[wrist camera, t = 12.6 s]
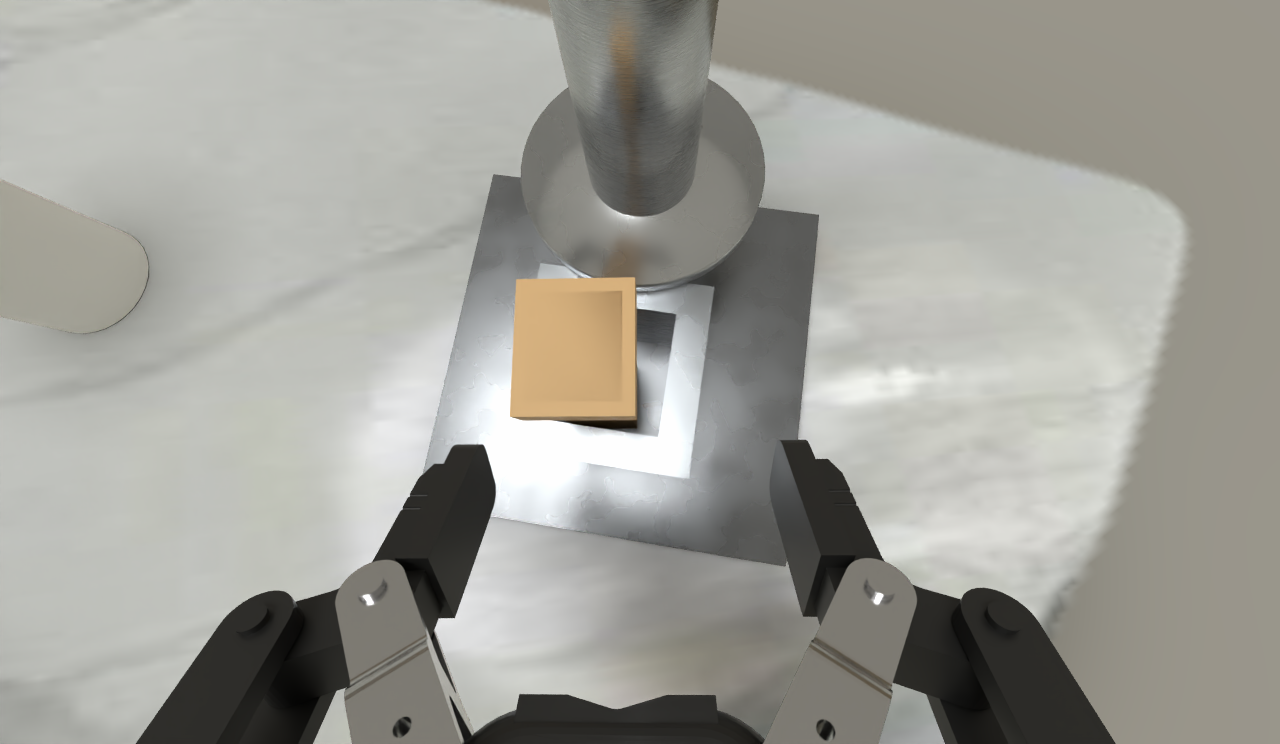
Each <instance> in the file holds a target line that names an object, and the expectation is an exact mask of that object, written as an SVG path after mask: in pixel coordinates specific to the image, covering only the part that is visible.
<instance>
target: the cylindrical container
mask: <svg viewBox="0 0 1280 744" xmlns="http://www.w3.org/2000/svg"><path fill="white" fill-rule="evenodd" d="M148 270H149V266H148V259H147V256H146V253H145V251H144V249H143V247H142V246H141V244H140V243H139V242H138V241H137V240H136V239H135V238H134V237H132V236H130V235H129V234H127V233H125V232H123V231H120V230H118V229H116V228H113V227H111V226H109V225H106V224H104V223H102V222H99V221H97V220H95V219H92V218H90V217H88V216H85V215H83V214H81V213H78V212H76V211H74V210H71V209H69V208H67V207H64V206H62V205H60V204H57V203H55V202H53V201H50V200H48V199H46V198H43V197H41V196H39V195H36V194H34V193H32V192H29V191H27V190H25V189H22V188H20V187H18V186H15V185H13V184H11V183H8V182H6V181H4V180H1V179H0V317H3V318H8V319H12V320H17V321H21V322H26V323H30V324H35V325H39V326H44V327H49V328H53V329H58V330H62V331H67V332H71V333H83V334H84V333H91V332H96V331H99V330H103V329H106V328H108V327H109V326H111V325H113V324H115V323H117V322H118V321H119V320H121V319H122V318H124V317H125V316H126V315H127V314H128V313H129V312H130V311H131V310H132V309H133V308H134V306H135V305H136V304H137V302H138V301H139V299H140V298H141V296H142V294H143V291H144V289H145V287H146V283H147V279H148Z"/></svg>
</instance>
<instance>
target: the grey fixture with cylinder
mask: <svg viewBox="0 0 1280 744" xmlns="http://www.w3.org/2000/svg"><path fill="white" fill-rule="evenodd" d="M548 1H549V6H550V10H551V14H552V18H553V23H554V27H555V31H556V36H557V40H558V44H559V49H560V53H561V57H562V61H563V66H564V70H565V74H566V79H567V83H568V88H567V89H565V90H564V91H563V92H561V93H560V94H559V95H558V96H557V97H556V98H555V99H554V100H553V101H552V102H551V103H550V104H549V105H548V106H547V107H546V109H545V110H544V111H543V112H542V113H541V115H540V116H539V118H538V120H537V121H536V123H535V124H534V126H533V128H532V130H531V132H530V135H529V137H528V139H527V142H526V145H525V149H524V152H523V158H522V164H521V178H519V177H511V176H503V175H495V174H494V175H493V179H492V183H491V187H490V192H489V196H488V200H487V204H486V208H485V213H484V217H483V221H482V225H481V230H480V234H479V238H478V242H477V247H476V251H475V255H474V259H473V264H472V268H471V272H470V276H469V281H468V285H467V289H466V293H465V298H464V302H463V306H462V310H461V315H460V319H459V323H458V327H457V332H456V336H455V340H454V344H453V348H452V353H451V357H450V361H449V365H448V370H447V374H446V378H445V382H444V387H443V391H442V395H441V399H440V404H439V408H438V412H437V416H436V421H435V425H434V429H433V433H432V438H431V442H430V446H429V450H428V455H427V459H426V463H425V467H424V471H423V474H424V473H425V472H426V471H427V470H428V469H429V468H430V467H431V466H432V465H433V464H443V463H444V462H445V460H446V458H447V456H448V454H449V452H450V450H451V448H452V447H453V446H454V445H457V444H483V445H484V446H485V448H486V451H487V455H488V458H489V462H490V465H491V469H492V473H493V476H494V480H495V484H496V499H495V504H494V507H493V510H492V513H491V516H493V517H499V518H505V519H510V520H516V521H522V522H528V523H534V524H540V525H546V526H551V527H557V528H563V529H569V530H575V531H581V532H587V533H593V534H598V535H604V536H610V537H616V538H622V539H628V540H634V541H639V542H645V543H651V544H657V545H663V546H669V547H675V548H681V549H686V550H692V551H698V552H704V553H710V554H716V555H722V556H727V557H733V558H739V559H745V560H751V561H757V562H763V563H769V564H774V565H780V566H786V554H785V550H784V547H783V543H782V539H781V536H780V532H779V529H778V525H777V521H776V518H775V514H774V510H773V507H772V503H771V498H770V476H771V470H772V464H773V458H774V453H775V447H776V443H777V441H778V440H798V430H799V420H800V409H801V399H802V388H803V378H804V367H805V357H806V346H807V336H808V325H809V315H810V304H811V294H812V283H813V273H814V262H815V251H816V241H817V230H818V220H819V215H815V214H807V213H799V212H791V211H783V210H775V209H767V208H759V207H758V206H759V203H760V200H761V197H762V192H763V187H764V181H765V162H764V153H763V149H762V145H761V141H760V138H759V136H758V133H757V131H756V128H755V126H754V124H753V123H752V121H751V119H750V117H749V116H748V114H747V113H746V111H745V110H744V109H743V108H742V106H741V105H740V104H739V102H738V101H736V100H735V99H734V98H733V97H732V96H731V95H730V94H729V93H728V92H727V91H726V90H724V89H723V88H722V87H720V86H719V85H718V84H716V83H715V82H713V81H711V80H709V79H708V75H709V67H710V60H711V53H712V45H713V37H714V31H715V23H716V15H717V9H718V2H719V0H548ZM623 277H635V282H636V291H637V429H602V428H596V427H589V426H583V425H576V424H571V423H569V422H567V421H522V420H518V419H515V418H512V417H510V397H511V376H512V356H513V335H514V315H515V294H516V279H559V278H623Z"/></svg>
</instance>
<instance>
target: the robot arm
mask: <svg viewBox="0 0 1280 744" xmlns="http://www.w3.org/2000/svg"><path fill="white" fill-rule="evenodd" d="M770 498H771V503H772V507H773V510H774V514H775V518H776V521H777V525H778V529H779V532H780V536H781V539H782V543H783V547H784V550H785V554H786V557H787V561H788V565H789V568H790V572H791V575H792V579H793V583H794V586H795V590H796V593H797V597H798V601H799V604H800V608H801V611H802V615H803V617H818V621H819V624H820V628H819V630H818V632H817V634H816V636H815V638H814V640H812V641H811V643H810V645H809V647H808V649H807V651H806V653H805V655H804V657H803V659H802V662H801V664H800V666H799V668H798V670H797V672H796V674H795V677H794V679H793V681H792V683H791V685H790V687H789V689H788V692H787V694H786V696H785V698H784V700H783V702H782V704H781V706H780V709H779V711H778V713H777V715H776V717H775V719H774V721H773V724H772V726H771V728H770V730H769V732H768V734H767V736H766V739H764V738H763V737H762V736H761V735H760V734H758V733H757V732H756V731H755V730H753V729H752V728H751V727H750V726H748V725H747V724H745V723H744V722H742V721H740V720H739V719H737V718H735V717H733V716H731V715H729V714H727V713H724V712H721V711H717V704H716V695H666V696H662V697H659V698H656V699H652V700H649V701H645V702H642V703H639V704H635V705H632V706H629V707H625V708H622V709H611V708H608V707H604V706H601V705H598V704H595V703H592V702H589V701H586V700H583V699H579V698H576V697H573V696H570V695H548V694H519V699H518V704H517V709H516V710H515V711H512V712H509V713H507V714H504V715H502V716H500V717H498V718H496V719H494V720H493V721H491V722H489V723H488V724H486V725H485V726H483V727H482V728H481V729H479V730H478V731H477V732H474V730H473V727H472V725H471V723H470V720H469V718H468V716H467V713H466V711H465V709H464V706H463V704H462V701H461V699H460V696H459V694H458V691H457V688H456V685H455V683H454V680H453V677H452V674H451V672H450V669H449V666H448V664H447V661H446V658H445V655H444V653H443V650H442V647H441V644H440V642H439V639H438V636H437V634H436V632H435V630H434V629H435V626H436V624H437V621H438V618H455V616H456V613H457V610H458V607H459V605H460V602H461V599H462V596H463V593H464V590H465V587H466V585H467V582H468V579H469V576H470V573H471V570H472V567H473V565H474V562H475V559H476V556H477V553H478V550H479V547H480V544H481V542H482V539H483V536H484V533H485V530H486V527H487V524H488V522H489V519H490V516H491V513H492V510H493V507H494V504H495V499H496V484H495V480H494V476H493V473H492V469H491V465H490V462H489V458H488V455H487V451H486V448H485V446H484V445H483V444H457V445H454V446H453V447H452V448H451V450H450V452H449V454H448V456H447V458H446V460H445V462H444V463H443V464H433V465H432V466H431V467H430V468H429V469H428V470H427V471H426V472H425V473H424V474H423V475H422V476H420V477H419V479H418V480H417V482H416V484H415V486H414V488H413V490H412V491H411V493H410V497H408V499H407V500H406V502H405V504H404V506H403V510H401V511H400V513H399V515H398V517H397V518H396V520H395V522H394V524H393V526H392V527H391V529H390V531H389V533H388V535H387V536H386V538H385V540H384V542H383V544H382V545H381V547H380V549H379V551H378V553H377V554H376V556H375V558H374V560H373V561H372V563H369V564H367V565H365V566H363V567H361V568H359V569H358V570H357V571H355V572H354V573H353V574H351V575H350V576H349V577H348V578H347V579H346V580H345V581H344V583H343V584H342V586H341V587H340V588H339V589H337V590H334V591H331V592H328V593H324V594H321V595H317V596H314V597H311V598H307V599H304V600H300V601H297V602H295V601H294V600H293V598H292V597H291V596H290V595H289V594H288V593H286V592H283V591H268V592H265V593H261V594H259V595H256V596H254V597H252V598H250V599H248V600H246V601H245V602H243V603H242V604H240V605H239V606H238V607H236V608H235V609H234V610H233V611H231V612H230V613H229V614H228V615H227V616H226V617H225V618H224V620H223V621H222V622H221V624H220V625H219V626H218V628H217V629H216V631H215V632H214V633H213V635H212V636H211V638H210V639H209V640H208V642H207V643H206V645H205V646H204V648H203V649H202V650H201V652H200V653H199V655H198V656H197V658H196V659H195V660H194V662H193V663H192V665H191V666H190V667H189V669H188V670H187V672H186V673H185V675H184V676H183V677H182V679H181V680H180V682H179V683H178V684H177V686H176V687H175V689H174V690H173V692H172V693H171V694H170V696H169V697H168V699H167V700H166V702H165V703H164V704H163V706H162V707H161V709H160V710H159V711H158V713H157V714H156V716H155V717H154V719H153V720H152V721H151V723H150V724H149V726H148V727H147V729H146V730H145V731H144V733H143V734H142V736H141V737H140V738H139V740H138V741H137V743H136V744H313V742H314V740H315V738H316V736H317V733H318V731H319V729H320V727H321V724H322V722H323V720H324V718H325V715H326V713H327V711H328V709H329V706H330V704H331V702H332V700H333V697H334V695H335V693H336V691H337V690H340V689H343V688H346V687H347V688H346V689H345V692H344V699H345V707H346V712H347V718H348V724H349V729H350V735H351V740H352V744H878V743H879V739H880V736H881V733H882V729H883V726H884V723H885V720H886V716H887V713H888V710H889V706H890V703H891V698H892V693H893V691H892V690H891V687H892V683H896V684H899V685H901V686H904V687H907V688H910V689H913V690H916V691H919V692H922V693H925V694H926V695H927V698H928V700H929V703H930V705H931V708H932V711H933V713H934V716H935V718H936V721H937V724H938V726H939V729H940V731H941V734H942V737H943V739H944V742H945V744H1115V742H1114V740H1113V739H1112V737H1111V736H1110V734H1109V732H1108V731H1107V729H1106V728H1105V726H1104V725H1103V723H1102V721H1101V720H1100V718H1099V717H1098V715H1097V713H1096V712H1095V710H1094V709H1093V707H1092V706H1091V704H1090V703H1089V701H1088V699H1087V698H1086V696H1085V695H1084V693H1083V691H1082V690H1081V688H1080V687H1079V685H1078V683H1077V682H1076V680H1075V679H1074V677H1073V676H1072V674H1071V672H1070V671H1069V669H1068V668H1067V666H1066V665H1065V663H1064V661H1063V660H1062V658H1061V657H1060V655H1059V653H1058V652H1057V650H1056V649H1055V647H1054V646H1053V644H1052V642H1051V641H1050V639H1049V638H1048V636H1047V635H1046V633H1045V631H1044V630H1043V628H1042V627H1041V625H1040V623H1039V622H1038V621H1037V619H1036V618H1035V617H1034V615H1033V614H1032V613H1031V612H1030V611H1029V610H1028V609H1027V608H1026V607H1025V606H1023V605H1022V604H1021V603H1019V602H1018V601H1017V600H1015V599H1013V598H1012V597H1010V596H1008V595H1006V594H1004V593H1002V592H999V591H996V590H993V589H988V588H975V589H971V590H969V591H967V592H966V593H965V594H964V595H963V597H962V599H957V598H954V597H950V596H947V595H943V594H940V593H936V592H932V591H929V590H925V589H922V588H919V587H917V586H915V585H912V584H911V582H910V581H909V579H908V578H907V577H906V576H905V575H904V574H903V573H902V572H901V571H900V570H898V569H897V568H896V567H894V566H892V565H891V564H889V563H886V562H885V561H884V560H883V558H882V556H881V554H880V552H879V550H878V548H877V546H876V544H875V542H874V539H873V537H872V535H871V533H870V531H869V529H868V527H867V525H866V522H865V520H864V518H863V516H862V514H861V512H860V510H859V508H858V506H856V501H855V499H854V497H853V495H852V493H850V488H849V486H848V484H847V482H846V480H845V478H844V476H843V474H842V472H841V471H840V470H839V469H838V468H837V467H835V466H834V465H833V464H832V463H831V462H830V461H829V460H828V459H815V457H814V454H813V452H812V449H811V447H810V445H809V443H808V441H807V440H778V441H777V443H776V447H775V453H774V458H773V464H772V470H771V476H770Z"/></svg>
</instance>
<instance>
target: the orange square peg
mask: <svg viewBox="0 0 1280 744" xmlns="http://www.w3.org/2000/svg"><path fill="white" fill-rule="evenodd" d="M510 417H512V418H515V419H518V420H522V421H567V422H569V423H571V424H576V425H583V426H589V427H596V428H602V429H637V291H636V282H635V277H623V278H559V279H516V294H515V315H514V335H513V356H512V376H511V397H510Z"/></svg>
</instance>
